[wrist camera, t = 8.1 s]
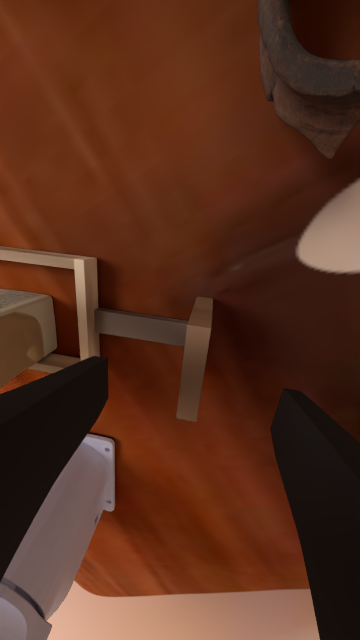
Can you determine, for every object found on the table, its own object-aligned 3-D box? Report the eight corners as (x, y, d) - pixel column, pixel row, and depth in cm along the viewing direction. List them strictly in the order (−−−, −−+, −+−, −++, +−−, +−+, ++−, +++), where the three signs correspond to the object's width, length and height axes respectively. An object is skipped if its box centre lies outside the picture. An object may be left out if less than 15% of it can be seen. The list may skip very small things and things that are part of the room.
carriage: (199, 386, 16) (192, 446, 11) (-18, 347, 18) (-100, 384, 13) (217, 272, 13) (217, 290, 9) (-44, 240, 15) (-160, 240, 11)
